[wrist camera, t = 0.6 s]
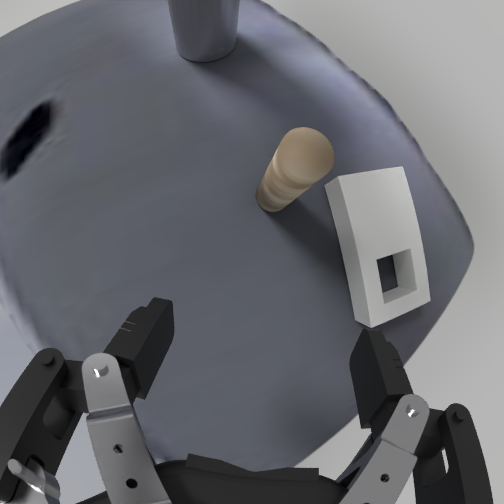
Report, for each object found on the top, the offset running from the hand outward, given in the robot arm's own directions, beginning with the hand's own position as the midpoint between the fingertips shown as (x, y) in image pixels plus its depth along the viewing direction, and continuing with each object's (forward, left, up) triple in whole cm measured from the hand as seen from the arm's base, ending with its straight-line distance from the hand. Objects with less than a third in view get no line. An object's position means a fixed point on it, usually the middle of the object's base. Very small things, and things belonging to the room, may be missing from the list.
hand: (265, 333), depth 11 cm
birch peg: (-9, +6, -22) cm, 24 cm away
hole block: (0, +18, -22) cm, 28 cm away
